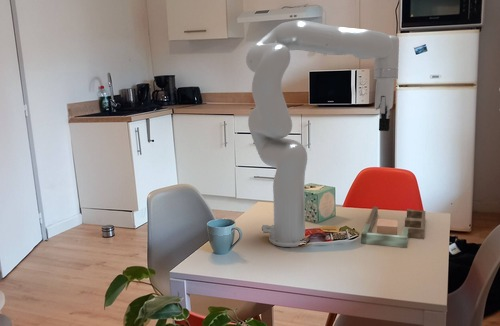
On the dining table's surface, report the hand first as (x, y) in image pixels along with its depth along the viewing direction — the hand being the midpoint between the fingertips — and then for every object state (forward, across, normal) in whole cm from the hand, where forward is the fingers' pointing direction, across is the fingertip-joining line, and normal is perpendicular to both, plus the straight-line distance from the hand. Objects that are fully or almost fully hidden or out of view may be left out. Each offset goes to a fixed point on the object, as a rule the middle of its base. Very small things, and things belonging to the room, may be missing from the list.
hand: (384, 130), depth 162 cm
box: (+31, +9, +6) cm, 33 cm away
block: (+31, +17, +4) cm, 36 cm away
